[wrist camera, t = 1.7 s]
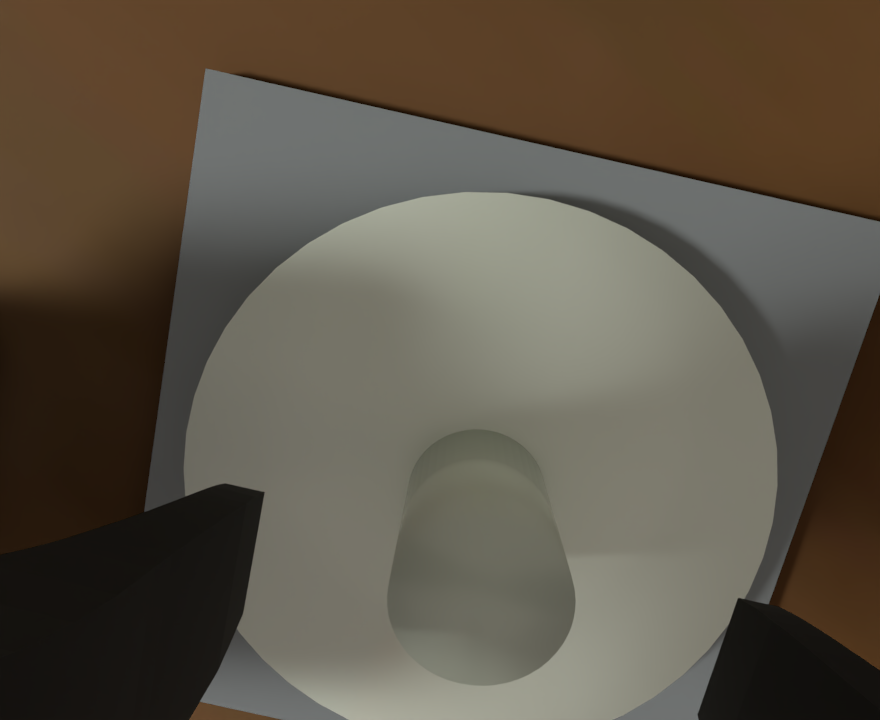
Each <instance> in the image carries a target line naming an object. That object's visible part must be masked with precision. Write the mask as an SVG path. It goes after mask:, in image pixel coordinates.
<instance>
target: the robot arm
mask: <svg viewBox="0 0 880 720" xmlns="http://www.w3.org/2000/svg"><path fill="white" fill-rule="evenodd" d="M264 494H265V492H262V491H258V490H253V489H249V488H244V487H240V486H235V485H231V484H226V483H223V484H219V485H215V486H212V487H209V488H206V489H204V490H201V491H198V492H196V493H193V494H190V495H188V496H185V497H183V498H180V499H178V500H175V501H172V502H170V503H167V504H164V505H162V506H159V507H157V508H154V509H151V510H149V511H146V512H143V513H141V514H138V515H135V516H133V517H130V518H127V519H124V520H121V521H118V522H115V523H112V524H109V525H106V526H103V527H100V528H96V529H93V530H90V531H87V532H84V533H81V534H78V535H75V536H72V537H69V538H66V539H62V540H59V541H55V542H51V543H48V544H44V545H40V546H36V547H32V548H28V549H24V550H20V551H15V552H11V553H6V554H2V555H0V720H189V719H190V717H191V715H192V714H193V712H194V710H195V709H196V707H197V705H198V704H199V702H200V700H201V699H202V697H203V695H204V694H205V692H206V690H207V689H208V687H209V685H210V684H211V682H212V680H213V679H214V677H215V675H216V673H217V672H218V670H219V667H220V665H221V663H222V661H223V659H224V656H225V654H226V652H227V650H228V648H229V645H230V643H231V641H232V638H233V636H234V634H235V631H236V629H237V627H238V624H239V622H240V620H241V618H242V615H243V612H244V606H245V600H246V595H247V589H248V584H249V578H250V572H251V567H252V561H253V555H254V550H255V544H256V539H257V533H258V527H259V522H260V516H261V510H262V505H263V499H264ZM697 715H698V719H699V720H880V670H878V669H877V668H875V667H874V666H872V665H871V664H870V663H868V662H867V661H865V660H864V659H862V658H861V657H859V656H858V655H856V654H855V653H853V652H852V651H850V650H849V649H847V648H846V647H845V646H843V645H842V644H840V643H839V642H837V641H836V640H834V639H833V638H831V637H830V636H828V635H827V634H825V633H823V632H822V631H820V630H819V629H817V628H816V627H814V626H812V625H811V624H809V623H808V622H806V621H804V620H803V619H801V618H799V617H797V616H796V615H794V614H792V613H790V612H788V611H786V610H784V609H782V608H780V607H778V606H773V605H769V604H764V603H760V602H755V601H751V600H746V599H742V598H738V599H737V602H736V605H735V608H734V611H733V614H732V617H731V619H730V622H729V625H728V628H727V631H726V634H725V637H724V640H723V642H722V645H721V648H720V651H719V654H718V657H717V660H716V663H715V666H714V668H713V671H712V674H711V677H710V680H709V683H708V686H707V689H706V691H705V694H704V697H703V700H702V703H701V706H700V709H699V712H698V714H697Z"/></svg>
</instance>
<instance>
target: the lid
mask: <svg viewBox="0 0 880 720" xmlns="http://www.w3.org/2000/svg"><path fill="white" fill-rule="evenodd" d="M184 483H185V496H188V495H190V494H193V493H196V492H198V491H201V490H204V489H206V488H209V487H212V486H215V485H219V484H223V483H226V484H231V485H235V486H240V487H244V488H249V489H253V490H258V491H262V492H265V494H264V499H263V505H262V510H261V516H260V522H259V527H258V533H257V539H256V544H255V550H254V555H253V561H252V567H251V572H250V578H249V584H248V589H247V595H246V600H245V606H244V612H243V615H242V618H241V620H240V622H239V624H238V627H237V630H238V631H239V633H240V634H241V635H242V636H243V637H244V638H245V640H246V641H247V642H248V643H249V644H250V645H251V646H252V648H253V649H254V650H255V651H256V652H257V653H258V655H259V656H260V657H261V658H262V659H263V660H264V661H265V662H266V663H267V664H268V665H270V666H271V667H272V668H273V669H274V670H275V671H276V672H277V673H278V674H280V675H281V676H282V677H283V678H284V679H285V680H286V681H287V682H288V683H290V684H291V685H293V686H294V687H295V688H297V689H298V690H300V691H301V692H303V693H304V694H305V695H307V696H308V697H310V698H311V699H313V700H314V701H315V702H317V703H318V704H320V705H322V706H324V707H326V708H328V709H330V710H331V711H333V712H335V713H337V714H339V715H341V716H343V717H344V718H346V719H348V720H613V719H616V718H618V717H620V716H623V715H625V714H626V713H628V712H630V711H631V710H633V709H635V708H636V707H638V706H640V705H641V704H643V703H645V702H647V701H648V700H650V699H652V698H653V697H655V696H656V695H658V694H659V693H660V692H661V691H663V690H664V689H665V688H667V687H668V686H669V685H671V684H672V683H673V682H674V681H676V680H677V679H678V678H680V677H681V676H682V675H683V674H684V673H685V672H687V671H688V670H689V669H690V668H691V667H692V666H693V665H694V664H695V663H696V662H697V661H698V660H699V659H700V658H701V657H702V656H703V655H704V654H705V653H706V652H707V651H708V650H709V649H710V647H711V646H712V645H713V643H714V642H715V641H716V640H717V638H718V637H719V636H720V635H721V633H722V632H723V631H724V630H725V628H726V627H727V626H728V624H729V622H730V619H731V617H732V614H733V611H734V608H735V605H736V602H737V599H738V598H742V599H744V598H745V597H746V595H747V593H748V592H749V590H750V587H751V585H752V583H753V580H754V578H755V576H756V573H757V571H758V569H759V566H760V564H761V562H762V559H763V557H764V553H765V549H766V546H767V542H768V538H769V535H770V531H771V527H772V524H773V517H774V509H775V502H776V494H777V486H778V485H777V446H776V439H775V433H774V427H773V420H772V414H771V410H770V406H769V403H768V400H767V397H766V393H765V390H764V387H763V384H762V381H761V377H760V374H759V372H758V370H757V368H756V366H755V364H754V362H753V360H752V358H751V355H750V353H749V351H748V349H747V347H746V345H745V343H744V341H743V339H742V338H741V336H740V335H739V333H738V332H737V330H736V329H735V327H734V326H733V324H732V323H731V321H730V320H729V318H728V317H727V315H726V314H725V312H724V311H723V309H722V307H721V306H720V305H719V304H718V303H717V302H716V301H715V300H714V298H713V297H712V296H711V295H710V294H709V293H708V292H707V291H706V289H705V288H704V287H703V286H702V285H701V284H700V283H699V282H698V281H697V279H696V278H695V277H694V276H693V275H691V274H690V273H689V272H688V271H687V270H685V269H684V268H683V267H682V266H681V265H680V264H678V263H677V262H676V261H675V260H674V259H672V258H671V257H670V256H669V255H668V254H666V253H665V252H664V251H663V250H661V249H660V248H658V247H657V246H655V245H653V244H652V243H650V242H649V241H647V240H645V239H644V238H642V237H641V236H639V235H637V234H636V233H634V232H633V231H631V230H629V229H628V228H626V227H623V226H621V225H619V224H617V223H615V222H612V221H610V220H608V219H606V218H603V217H601V216H599V215H597V214H595V213H592V212H590V211H587V210H584V209H580V208H577V207H574V206H570V205H567V204H563V203H560V202H557V201H553V200H550V199H544V198H538V197H531V196H525V195H518V194H512V193H489V192H461V193H452V194H444V195H435V196H427V197H420V198H417V199H413V200H409V201H405V202H401V203H397V204H393V205H389V206H385V207H382V208H379V209H377V210H374V211H372V212H369V213H367V214H364V215H362V216H359V217H357V218H354V219H352V220H350V221H347V222H345V223H342V224H341V225H339V226H337V227H336V228H334V229H332V230H330V231H329V232H327V233H325V234H323V235H322V236H320V237H318V238H316V239H315V240H313V241H311V242H309V243H308V244H306V245H305V246H304V247H303V248H301V249H300V250H299V251H297V252H296V253H295V254H293V255H292V256H291V257H290V258H288V259H287V260H286V261H284V262H283V263H282V264H281V265H279V266H278V267H277V268H275V270H274V271H273V272H272V273H271V274H270V275H269V276H268V277H267V278H266V279H265V280H264V281H263V282H262V283H261V284H260V285H259V286H258V287H257V288H256V289H255V290H254V291H253V292H252V293H251V294H250V295H249V296H248V297H247V299H246V300H245V301H244V303H243V304H242V306H241V307H240V308H239V310H238V311H237V312H236V314H235V315H234V316H233V318H232V319H231V320H230V322H229V323H228V325H227V326H226V327H225V329H224V331H223V333H222V334H221V336H220V338H219V340H218V342H217V344H216V346H215V347H214V349H213V351H212V353H211V355H210V357H209V359H208V360H207V363H206V365H205V368H204V371H203V374H202V376H201V379H200V382H199V384H198V387H197V390H196V393H195V395H194V399H193V404H192V408H191V413H190V417H189V422H188V427H187V431H186V443H185V456H184Z"/></svg>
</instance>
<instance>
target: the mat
mask: <svg viewBox="0 0 880 720" xmlns="http://www.w3.org/2000/svg"><path fill="white" fill-rule="evenodd" d="M461 192H489V193H512V194H518V195H525V196H531V197H538V198H544V199H550V200H553V201H557V202H560V203H563V204H567V205H570V206H574V207H577V208H580V209H584V210H587V211H590V212H592V213H595V214H597V215H599V216H601V217H603V218H606V219H608V220H610V221H612V222H615V223H617V224H619V225H621V226H623V227H626V228H628V229H629V230H631V231H633V232H634V233H636V234H637V235H639V236H641V237H642V238H644V239H645V240H647V241H649V242H650V243H652V244H653V245H655V246H657V247H658V248H660V249H661V250H663V251H664V252H665V253H666V254H668V255H669V256H670V257H671V258H672V259H674V260H675V261H676V262H677V263H678V264H680V265H681V266H682V267H683V268H684V269H685V270H687V271H688V272H689V273H690V274H691V275H693V276H694V277H695V278H696V279H697V281H698V282H699V283H700V284H701V285H702V286H703V287H704V288H705V289H706V291H707V292H708V293H709V294H710V295H711V296H712V297H713V298H714V300H715V301H716V302H717V303H718V304H719V305H720V306H721V307H722V309H723V311H724V312H725V314H726V315H727V317H728V318H729V320H730V321H731V323H732V324H733V326H734V327H735V329H736V330H737V332H738V333H739V335H740V336H741V338H742V339H743V341H744V343H745V345H746V347H747V349H748V351H749V353H750V355H751V358H752V360H753V362H754V364H755V366H756V368H757V370H758V372H759V374H760V377H761V381H762V384H763V387H764V390H765V393H766V397H767V400H768V403H769V406H770V410H771V414H772V420H773V427H774V433H775V439H776V446H777V485H778V486H777V494H776V502H775V509H774V517H773V524H772V527H771V531H770V535H769V538H768V542H767V546H766V549H765V553H764V557H763V559H762V562H761V564H760V566H759V569H758V571H757V573H756V576H755V578H754V580H753V583H752V585H751V587H750V590H749V592H748V593H747V595H746V597H745V598H744V599H746V600H751V601H755V602H760V603H764V604H769V602H770V599H771V596H772V594H773V591H774V588H775V585H776V582H777V580H778V577H779V574H780V571H781V568H782V566H783V563H784V560H785V557H786V554H787V552H788V549H789V546H790V543H791V540H792V538H793V535H794V532H795V529H796V526H797V524H798V521H799V518H800V515H801V512H802V510H803V507H804V504H805V501H806V499H807V496H808V493H809V490H810V487H811V485H812V482H813V479H814V476H815V473H816V471H817V468H818V465H819V462H820V459H821V457H822V454H823V451H824V448H825V445H826V443H827V440H828V437H829V434H830V431H831V429H832V426H833V423H834V420H835V417H836V415H837V412H838V409H839V406H840V404H841V401H842V398H843V395H844V392H845V390H846V387H847V384H848V381H849V378H850V376H851V373H852V370H853V367H854V364H855V362H856V359H857V356H858V353H859V350H860V348H861V345H862V342H863V339H864V336H865V334H866V331H867V328H868V325H869V322H870V320H871V317H872V314H873V311H874V308H875V306H876V303H877V300H878V297H879V295H880V222H879V221H874V220H870V219H865V218H861V217H857V216H852V215H848V214H843V213H839V212H835V211H830V210H826V209H821V208H817V207H813V206H808V205H804V204H799V203H795V202H791V201H786V200H782V199H777V198H773V197H769V196H764V195H760V194H755V193H751V192H747V191H742V190H738V189H733V188H729V187H725V186H720V185H716V184H711V183H707V182H703V181H698V180H694V179H689V178H685V177H681V176H676V175H672V174H667V173H663V172H659V171H654V170H650V169H645V168H641V167H637V166H632V165H628V164H624V163H619V162H615V161H610V160H606V159H602V158H597V157H593V156H588V155H584V154H580V153H575V152H571V151H566V150H562V149H558V148H553V147H549V146H544V145H540V144H536V143H531V142H527V141H522V140H518V139H514V138H509V137H505V136H500V135H496V134H492V133H487V132H483V131H478V130H474V129H470V128H465V127H461V126H456V125H452V124H448V123H443V122H439V121H434V120H430V119H426V118H421V117H417V116H412V115H408V114H404V113H399V112H395V111H390V110H386V109H382V108H377V107H373V106H368V105H364V104H360V103H355V102H351V101H346V100H342V99H338V98H333V97H329V96H324V95H320V94H316V93H311V92H307V91H302V90H298V89H294V88H289V87H285V86H280V85H276V84H272V83H267V82H263V81H258V80H254V79H250V78H245V77H241V76H236V75H232V74H228V73H223V72H219V71H214V70H210V69H206V70H205V77H204V84H203V91H202V99H201V106H200V113H199V120H198V127H197V135H196V142H195V149H194V156H193V163H192V171H191V178H190V185H189V192H188V199H187V206H186V214H185V221H184V228H183V235H182V242H181V250H180V257H179V264H178V271H177V278H176V286H175V293H174V300H173V307H172V314H171V322H170V329H169V336H168V343H167V350H166V358H165V365H164V372H163V379H162V386H161V393H160V401H159V408H158V415H157V422H156V429H155V437H154V444H153V451H152V458H151V465H150V473H149V480H148V487H147V494H146V501H145V509H144V512H146V511H149V510H151V509H154V508H157V507H159V506H162V505H164V504H167V503H170V502H172V501H175V500H178V499H180V498H183V497H185V483H184V456H185V443H186V431H187V427H188V422H189V417H190V413H191V408H192V404H193V399H194V395H195V393H196V390H197V387H198V384H199V382H200V379H201V376H202V374H203V371H204V368H205V365H206V363H207V360H208V359H209V357H210V355H211V353H212V351H213V349H214V347H215V346H216V344H217V342H218V340H219V338H220V336H221V334H222V333H223V331H224V329H225V327H226V326H227V325H228V323H229V322H230V320H231V319H232V318H233V316H234V315H235V314H236V312H237V311H238V310H239V308H240V307H241V306H242V304H243V303H244V301H245V300H246V299H247V297H248V296H249V295H250V294H251V293H252V292H253V291H254V290H255V289H256V288H257V287H258V286H259V285H260V284H261V283H262V282H263V281H264V280H265V279H266V278H267V277H268V276H269V275H270V274H271V273H272V272H273V271H274V270H275V268H277V267H278V266H279V265H281V264H282V263H283V262H284V261H286V260H287V259H288V258H290V257H291V256H292V255H293V254H295V253H296V252H297V251H299V250H300V249H301V248H303V247H304V246H305V245H306V244H308V243H309V242H311V241H313V240H315V239H316V238H318V237H320V236H322V235H323V234H325V233H327V232H329V231H330V230H332V229H334V228H336V227H337V226H339V225H341V224H342V223H345V222H347V221H350V220H352V219H354V218H357V217H359V216H362V215H364V214H367V213H369V212H372V211H374V210H377V209H379V208H382V207H385V206H389V205H393V204H397V203H401V202H405V201H409V200H413V199H417V198H420V197H427V196H435V195H444V194H452V193H461ZM728 625H729V624H728ZM727 628H728V626H727V627H726V628H725V630H724V631H723V632H722V633H721V635H720V636H719V637H718V638H717V640H716V641H715V642H714V643H713V645H712V646H711V647H710V649H709V650H708V651H707V652H706V653H705V654H704V655H703V656H702V657H701V658H700V659H699V660H698V661H697V662H696V663H695V664H694V665H693V666H692V667H691V668H690V669H689V670H688V671H687V672H685V673H684V674H683V675H682V676H681V677H680V678H678V679H677V680H676V681H674V682H673V683H672V684H671V685H669V686H668V687H667V688H665V689H664V690H663V691H661V692H660V693H659V694H658V695H656V696H655V697H653V698H652V699H650V700H648V701H647V702H645V703H643V704H641V705H640V706H638V707H636V708H635V709H633V710H631V711H630V712H628V713H626V714H625V715H623V716H620V717H618V718H616V719H613V720H699V719H698V715H697V714H698V712H699V709H700V706H701V703H702V700H703V697H704V694H705V691H706V689H707V686H708V683H709V680H710V677H711V674H712V671H713V668H714V666H715V663H716V660H717V657H718V654H719V651H720V648H721V645H722V642H723V640H724V637H725V634H726V631H727ZM200 702H204V703H208V704H213V705H218V706H222V707H227V708H231V709H236V710H241V711H245V712H250V713H254V714H259V715H264V716H268V717H273V718H278V719H282V720H348V719H346V718H344V717H343V716H341V715H339V714H337V713H335V712H333V711H331V710H330V709H328V708H326V707H324V706H322V705H320V704H318V703H317V702H315V701H314V700H313V699H311V698H310V697H308V696H307V695H305V694H304V693H303V692H301V691H300V690H298V689H297V688H295V687H294V686H293V685H291V684H290V683H288V682H287V681H286V680H285V679H284V678H283V677H282V676H281V675H280V674H278V673H277V672H276V671H275V670H274V669H273V668H272V667H271V666H270V665H268V664H267V663H266V662H265V661H264V660H263V659H262V658H261V657H260V656H259V655H258V653H257V652H256V651H255V650H254V649H253V648H252V646H251V645H250V644H249V643H248V642H247V641H246V640H245V638H244V637H243V636H242V635H241V634H240V633H239V631H238V630H237V629H236V631H235V634H234V636H233V638H232V641H231V643H230V645H229V648H228V650H227V652H226V654H225V656H224V659H223V661H222V663H221V665H220V667H219V670H218V672H217V673H216V675H215V677H214V679H213V680H212V682H211V684H210V685H209V687H208V689H207V690H206V692H205V694H204V695H203V697H202V699H201V700H200Z"/></svg>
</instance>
